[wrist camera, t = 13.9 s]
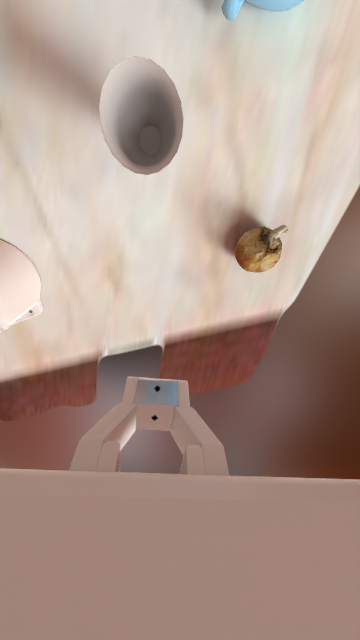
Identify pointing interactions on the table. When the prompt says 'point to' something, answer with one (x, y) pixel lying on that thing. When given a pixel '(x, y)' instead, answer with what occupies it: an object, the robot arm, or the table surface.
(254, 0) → the decorative pot
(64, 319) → the table surface
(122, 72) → the chalice
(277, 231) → the onion
